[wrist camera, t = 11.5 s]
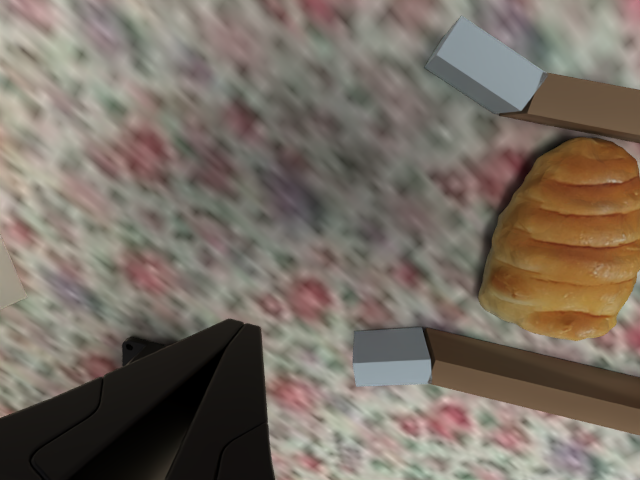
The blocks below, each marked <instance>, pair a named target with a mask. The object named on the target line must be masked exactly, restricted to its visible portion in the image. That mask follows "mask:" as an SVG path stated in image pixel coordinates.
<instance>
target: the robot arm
mask: <svg viewBox="0 0 640 480" xmlns="http://www.w3.org/2000/svg"><path fill="white" fill-rule="evenodd" d="M130 344H131V345H132V346H131V345H130ZM122 352H123V367H121V368H119V369H117V370H114V371H112V372H110V373H108V374H106V375H104V377H103V378H102V377H99V378H96V379H94V380H92V381H90V382H88V383H85V384H83V385H81V386H79V387H76V388H74V389H72V390H69V391H67V392H65V393H62V394H60V395H58V396H55V397H53V398H51V399H48V400H46V401H43V402H40V403H38V404H35V405H33V406H30V407H28V408H25V409H23V410H20V411H17V412H15V413H12V414H9V415H7V416H4V417H1V418H0V480H275V476H274V470H273V465H272V458H271V450H270V441H269V428H268V417H267V403H266V390H265V376H264V362H263V348H262V334H261V327H259V326H256V325H252V324H248V323H246V324H244V323H243V322H241V321H237V320H233V319H227V320H225V321H222V322H220V323H218V324H216V325H214V326H211V327H209V328H207V329H205V330H203V331H200V332H198V333H196V334H194V335H192V336H189V337H187V338H185V339H183V340H181V341H178V342H176V343H174V344H172V345H170V346H166V345H162V344H158V343H154V342H150V341H146V340H142V339H138V338H134V337H130V338H128V339H127V340H126V341H124V343H123V345H122Z"/></svg>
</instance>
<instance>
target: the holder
mask: <svg viewBox="0 0 640 480" xmlns="http://www.w3.org/2000/svg"><path fill="white" fill-rule="evenodd" d="M424 68H426V69H427V70H429V71H430V72H432V73H433V74H435V75H436V76H438V77H439V78H441V79H442V80H444V81H445V82H447V83H448V84H450V85H451V86H453V87H455V88H456V89H458V90H459V91H461V92H462V93H464V94H465V95H467V96H468V97H470V98H471V99H473V100H474V101H476V102H477V103H479V104H480V105H482V106H483V107H485V108H486V109H488V110H489V111H491V112H492V113H494V114H497V113H500V115H499V116H503V117H509V118H514V119H519V120H524V121H529V122H534V123H539V124H544V125H549V126H555V127H560V128H565V129H570V130H575V131H580V132H585V133H590V134H595V135H600V136H606V137H611V138H616V139H621V140H626V141H631V142H636V143H640V90H637V89H631V88H626V87H621V86H615V85H610V84H605V83H599V82H594V81H589V80H583V79H578V78H573V77H567V76H562V75H557V74H551V73H546V72H544V71H543V70H541V69H540V68H539V67H537V66H536V65H534V64H533V63H531V62H530V61H528V60H527V59H525V58H524V57H522V56H521V55H519V54H518V53H516V52H515V51H513V50H512V49H510V48H509V47H507V46H506V45H504V44H503V43H502V42H500V41H499V40H497V39H496V38H494V37H493V36H491V35H490V34H488V33H487V32H485V31H484V30H482V29H481V28H479V27H478V26H476V25H475V24H473V23H472V22H470V21H469V20H467V19H466V18H465V17H463V16H461V17H460V18H459V19H458V20H457V21H456V23H455V24H454V25H453V26H452V27H451V28H450V30H449V31H448V32H447V33H446V34H445V35H444V37H443V38H442V40H441V42H440V43H439V45H438V46H437V48H436V49H435V51H434V53H433V54H432V56H431V57H430V59H429V61H428V62H427V64H426V65H425V67H424ZM353 369H354V376H355V382H356V386H383V385H409V384H433V385H437V386H441V387H445V388H449V389H453V390H457V391H461V392H465V393H469V394H474V395H478V396H482V397H486V398H490V399H494V400H498V401H502V402H506V403H510V404H514V405H518V406H522V407H527V408H531V409H535V410H539V411H543V412H547V413H551V414H555V415H559V416H563V417H567V418H571V419H575V420H579V421H584V422H588V423H592V424H596V425H600V426H604V427H608V428H612V429H616V430H620V431H624V432H628V433H632V434H637V435H640V378H639V377H634V376H630V375H626V374H622V373H617V372H613V371H609V370H605V369H600V368H596V367H592V366H588V365H583V364H579V363H575V362H571V361H566V360H562V359H558V358H554V357H549V356H545V355H541V354H537V353H532V352H528V351H524V350H520V349H515V348H511V347H507V346H503V345H498V344H494V343H490V342H486V341H481V340H477V339H473V338H469V337H464V336H460V335H456V334H452V333H447V332H443V331H439V330H435V329H431V328H426V329H425V332H424V334H423V330H422V327H415V328H399V329H384V330H369V331H354V348H353Z"/></svg>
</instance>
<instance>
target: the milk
mask: <svg viewBox="0 0 640 480" xmlns="http://www.w3.org/2000/svg"><path fill="white" fill-rule="evenodd" d="M25 298H27V294H26V292H25V290H24V288H23V285H22V283H21V281H20V278H19V276H18V274H17V271H16V269H15V267H14V264H13V262H12V260H11V257H10V255H9V253H8V251H7V248H6V246H5V244H4V241H3V239H2V237H1V234H0V309H2V308H5V307H7V306H9V305H12V304H14V303H16V302H18V301H21V300H23V299H25Z"/></svg>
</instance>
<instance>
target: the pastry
mask: <svg viewBox="0 0 640 480" xmlns="http://www.w3.org/2000/svg"><path fill="white" fill-rule="evenodd" d="M639 270H640V176H639V168H638V165H637V161H636V159H635V158H633V157H632V156H631V155H630V154H628V153H627V152H626V151H625V150H624V149H623V148H622V147H620V146H618V145H616V144H615V143H613V142H611V141H607V140H603V139H600V138H586V137H577V138H572V139H570V140H568V141H566V142H564V143H562V144H561V145H559V146H558V147H556V148H554V149H552V150H550V151H549V152H547V153H545V154H543V155H542V156H540V157H539V158H538V159H537V160H536V161H535V163H534V165H533V167H532V169H531V171H530V172H529V173H528V174H527V176H526V177H525V180H524V182H523V184H522V185H521V187H520V188H519V189H518V190H517V191H516V192H515V193H514V194H513V196H512V200H511V201H510V203H509V205H508V206H507V207H506V208H505V209H504V210H503V212H502V213H501V214H500V215H499V217H498V225H497V227H496V229H495V231H494V233H493V237H492V247H491V249H490V252H489V254H488V256H487V260H486V264H485V268H484V274H483V283H482V285H481V287H480V291H479V296H478V299H479V302H480V305H481V306H482V307H483V308H484V309H485V310H487V311H488V312H490V313H492V314H494V315H495V316H497V317H499V318H500V319H502V320H504V321H507V322H511V323H515V324H517V325H519V326H520V327H522V328H523V329H525V330H528V331H530V332H532V333H535V334H536V333H537V334H540V335H545V336H549V337H554V338H559V339H567V340H573V341H578V340H582V339H585V338H596V337H600V336H603V335H605V334H606V333H607V332H609V330H610V329H612V328H613V327H614V326H615V325H616V323H617V321H616V316H617V314H618V312H619V311H620V309H621V308H622V306H623V305H624V304H625V302H626V301H627V299H628V297H629V295H630V294H631V292H632V291H633V287H634V284H635V283H636V278H637V272H638V271H639Z"/></svg>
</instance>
